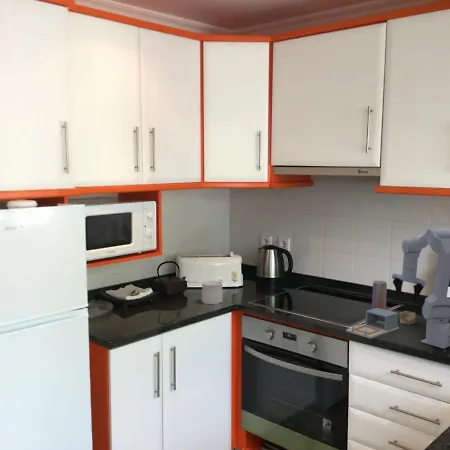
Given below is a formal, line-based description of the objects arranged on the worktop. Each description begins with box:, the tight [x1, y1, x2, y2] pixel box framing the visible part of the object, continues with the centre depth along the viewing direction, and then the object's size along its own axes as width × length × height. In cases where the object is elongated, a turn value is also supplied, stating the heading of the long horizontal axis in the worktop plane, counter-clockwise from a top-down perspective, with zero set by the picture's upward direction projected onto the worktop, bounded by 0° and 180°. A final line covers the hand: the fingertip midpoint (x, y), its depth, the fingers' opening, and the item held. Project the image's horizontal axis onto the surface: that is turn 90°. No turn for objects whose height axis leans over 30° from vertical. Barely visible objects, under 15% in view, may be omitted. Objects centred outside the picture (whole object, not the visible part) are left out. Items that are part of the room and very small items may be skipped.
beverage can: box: [371, 279, 388, 310], centre depth 244 cm, size 6×6×15 cm
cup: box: [201, 280, 224, 305], centre depth 262 cm, size 10×10×10 cm
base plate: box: [345, 320, 400, 339], centre depth 222 cm, size 12×20×3 cm, turn 130°
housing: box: [364, 308, 399, 330], centre depth 225 cm, size 10×8×6 cm
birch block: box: [399, 310, 416, 326], centre depth 233 cm, size 4×4×4 cm
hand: (407, 298), depth 231 cm, fingers open, 7 cm apart
